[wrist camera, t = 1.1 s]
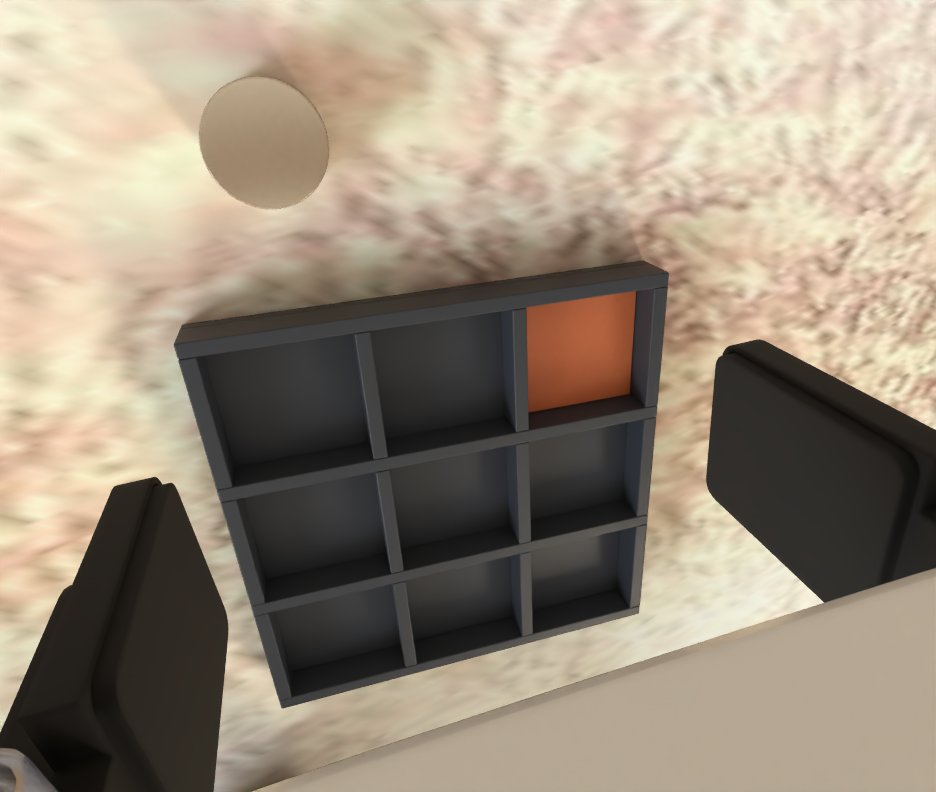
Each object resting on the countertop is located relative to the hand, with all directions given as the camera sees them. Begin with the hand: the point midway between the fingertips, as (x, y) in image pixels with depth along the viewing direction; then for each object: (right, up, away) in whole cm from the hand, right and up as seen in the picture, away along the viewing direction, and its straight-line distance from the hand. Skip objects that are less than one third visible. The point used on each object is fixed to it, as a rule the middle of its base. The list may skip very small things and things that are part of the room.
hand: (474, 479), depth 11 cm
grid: (-1, -3, +24) cm, 24 cm away
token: (-8, +12, +14) cm, 20 cm away
